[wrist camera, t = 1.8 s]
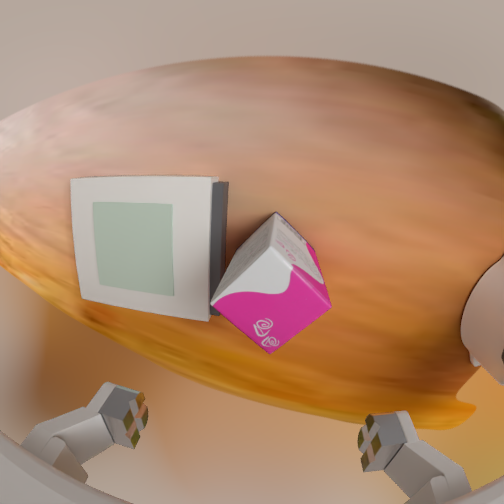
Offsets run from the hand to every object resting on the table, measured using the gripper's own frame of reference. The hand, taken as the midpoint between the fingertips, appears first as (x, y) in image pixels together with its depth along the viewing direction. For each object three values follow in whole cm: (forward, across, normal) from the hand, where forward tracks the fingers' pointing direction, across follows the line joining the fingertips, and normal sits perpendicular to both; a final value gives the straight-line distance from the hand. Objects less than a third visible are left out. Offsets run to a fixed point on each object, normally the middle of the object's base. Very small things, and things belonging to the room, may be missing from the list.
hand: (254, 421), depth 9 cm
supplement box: (+21, 0, 0) cm, 21 cm away
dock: (+21, +14, 0) cm, 25 cm away
